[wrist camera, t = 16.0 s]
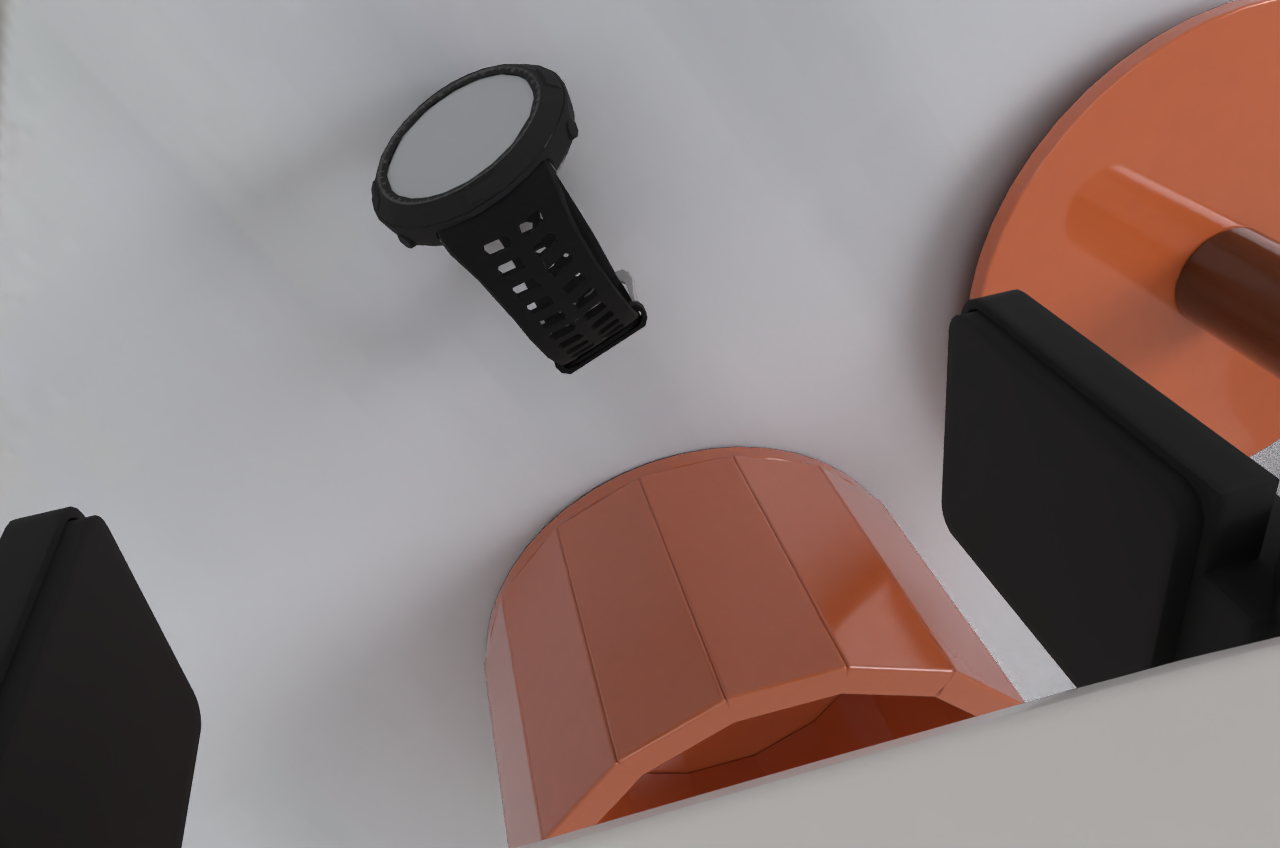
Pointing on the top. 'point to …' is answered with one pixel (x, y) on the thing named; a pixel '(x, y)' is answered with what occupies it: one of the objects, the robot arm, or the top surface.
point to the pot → (715, 639)
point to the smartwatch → (508, 207)
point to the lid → (1165, 219)
